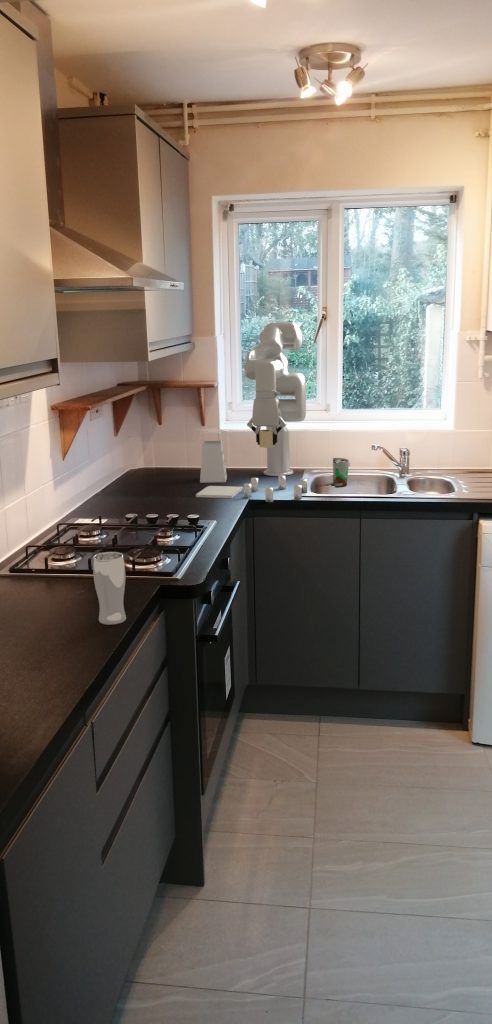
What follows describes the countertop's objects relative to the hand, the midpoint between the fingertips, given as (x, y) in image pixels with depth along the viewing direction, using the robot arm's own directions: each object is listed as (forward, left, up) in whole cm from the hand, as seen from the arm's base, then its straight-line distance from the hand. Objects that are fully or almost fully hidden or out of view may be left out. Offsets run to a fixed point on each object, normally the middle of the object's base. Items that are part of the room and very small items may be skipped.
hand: (266, 443), depth 302 cm
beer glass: (+133, -5, -20) cm, 135 cm away
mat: (0, -19, -19) cm, 27 cm away
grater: (-25, -29, -20) cm, 43 cm away
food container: (-21, +25, -20) cm, 38 cm away
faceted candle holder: (0, 0, -1) cm, 1 cm away
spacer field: (0, +3, -19) cm, 19 cm away
